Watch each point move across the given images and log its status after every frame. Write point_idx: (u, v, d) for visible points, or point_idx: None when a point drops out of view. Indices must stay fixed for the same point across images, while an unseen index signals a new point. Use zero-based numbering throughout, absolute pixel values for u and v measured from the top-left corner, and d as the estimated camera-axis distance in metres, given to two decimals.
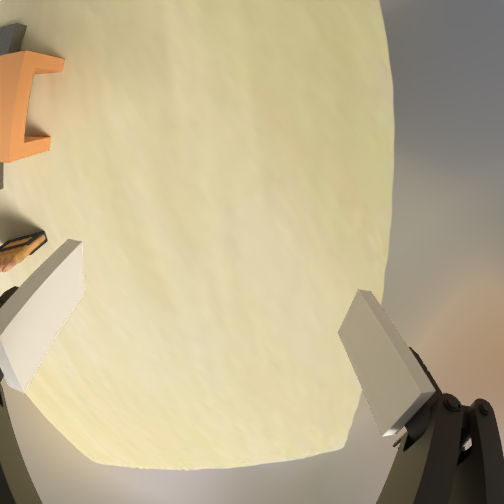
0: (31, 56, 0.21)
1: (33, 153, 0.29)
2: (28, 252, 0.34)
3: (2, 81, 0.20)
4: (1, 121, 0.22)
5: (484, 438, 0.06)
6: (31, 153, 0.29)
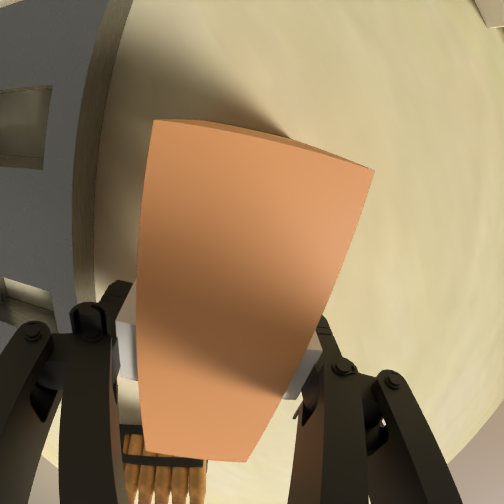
0: None
1: None
2: None
3: (204, 283, 0.07)
4: (217, 407, 0.09)
5: (401, 418, 0.07)
6: None
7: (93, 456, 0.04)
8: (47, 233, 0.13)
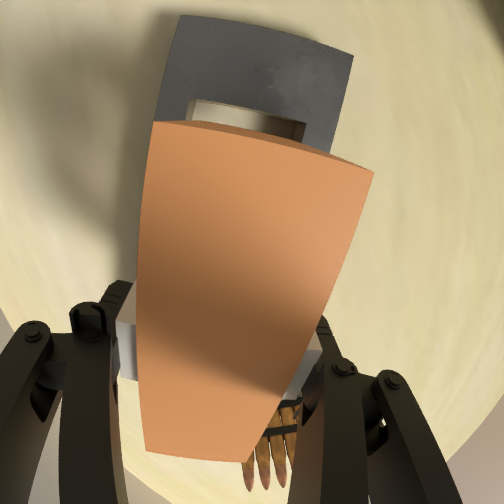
0: None
1: None
2: None
3: (204, 285, 0.07)
4: (216, 408, 0.09)
5: (401, 418, 0.07)
6: None
7: (94, 456, 0.04)
8: None
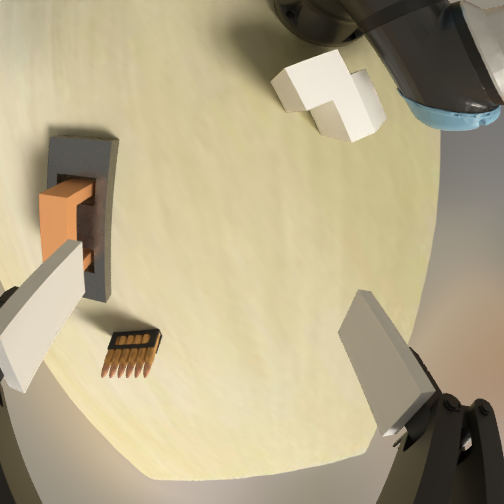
0: (72, 199, 0.34)
1: (84, 268, 0.43)
2: (155, 353, 0.50)
3: (48, 220, 0.33)
4: None
5: (484, 438, 0.06)
6: (83, 270, 0.42)
7: None
8: (95, 228, 0.41)
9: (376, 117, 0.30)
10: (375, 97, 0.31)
